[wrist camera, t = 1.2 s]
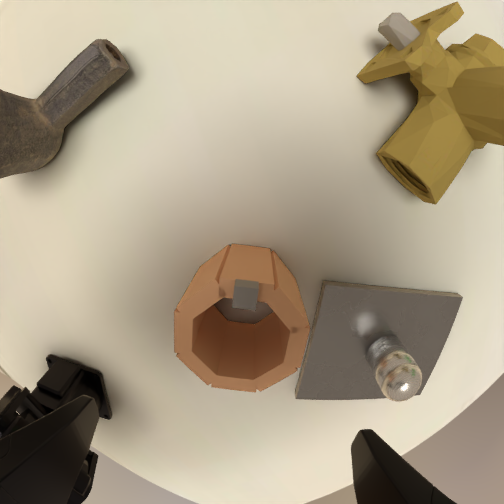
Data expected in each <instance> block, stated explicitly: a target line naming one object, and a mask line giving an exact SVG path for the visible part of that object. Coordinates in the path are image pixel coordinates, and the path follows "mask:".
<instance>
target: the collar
mask: <svg viewBox="0 0 504 504" xmlns="http://www.w3.org/2000/svg"><path fill="white" fill-rule="evenodd" d="M223 297H225V298H233V303H232V308H239V309H247V310H255V311H256V305H257V302H266V303H267V304H268V305H269V306H270V308H271V309H272V310H273V311H274V312H273V313H271V314H270V315H268V316H267V317H265V318H264V319H262V320H261V321H259V322H258V323H256V324H250V323H241V322H233V321H228V320H227V319H226V318H225V317H224V316H223V315H222V314H221V313H220V312H219V311H218V309H217V308H216V307H215V306H214V305H213V304H215V303H216V302H218V301H219V300H220V299H222V298H223ZM309 331H310V326H309V321H308V318H307V315H306V311H305V308H304V305H303V302H302V298H301V295H300V292H299V289H298V285H297V282H296V279H295V277H294V276H293V275H292V274H291V272H290V271H289V270H288V268H287V267H286V266H285V265H284V263H283V262H282V261H281V259H280V258H279V257H278V256H277V254H276V253H275V252H274V251H271V252H270V248H263V247H255V246H247V245H239V244H232V245H231V247H230V246H229V245H227V246H226V247H225V248H223V249H222V250H221V251H220V252H218V253H217V254H216V255H214V256H213V257H212V258H211V259H209V260H208V261H207V262H205V263H204V264H203V265H202V266H200V268H199V269H198V271H197V273H196V274H195V276H194V278H193V280H192V281H191V283H190V285H189V286H188V288H187V290H186V292H185V293H184V295H183V297H182V299H181V300H180V302H179V304H178V306H177V307H176V310H175V311H174V352H175V353H177V355H176V356H177V357H178V358H179V359H180V360H181V361H182V362H183V363H184V364H185V365H186V366H187V367H188V368H189V369H190V370H191V371H193V372H194V373H195V374H196V375H197V376H198V377H199V378H200V379H201V380H202V381H203V382H205V383H206V384H207V385H209V384H211V383H212V386H211V387H215V388H223V389H230V390H239V391H248V392H256V389H258V390H259V391H262V390H264V389H266V388H268V387H270V386H271V385H273V384H275V383H277V382H279V381H280V380H282V379H284V378H286V377H288V376H289V375H291V374H293V373H295V372H296V371H298V370H297V368H300V366H301V363H302V359H303V355H304V351H305V347H306V343H307V339H308V335H309Z"/></svg>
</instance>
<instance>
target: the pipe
mask: <svg viewBox="0 0 504 504" xmlns="http://www.w3.org/2000/svg"><path fill="white" fill-rule="evenodd" d="M128 68H129V66H128V65H127V63H126V60H125V59H124V57H123V55H122V54H121V52H120V51H119V50H118V48H117V47H116V46H114V45H113V44H112V43H111V42H110V41H108V40H107V39H97V40H95V41H94V42H93V43H91V44H90V45H89V46H88V47H87V48H86V49H84V50H83V51H82V52H81V53H80V54H79V55H78V56H77V57H76V58H75V59H74V60H73V61H71V62H70V64H69V65H68V66H67V67H66V68H65V69H64V70H63V71H62V72H61V73H60V74H59V75H58V76H57V77H56V79H55V80H54V81H53V82H52V83H51V84H50V85H49V86H48V87H47V89H46V90H45V91H44V92H43V93H42V94H41V95H40V96H39V97H38V98H37V99H29V98H25V97H21V96H18V95H15V94H11V93H8V92H5V91H3V90H1V89H0V178H4V177H7V176H10V175H14V174H20V173H26V172H31V171H35V170H38V169H40V168H41V167H43V166H45V165H46V164H47V163H48V162H49V161H50V160H51V159H52V158H53V157H54V156H55V155H56V154H57V152H58V150H59V149H60V146H61V142H62V136H63V132H64V128H65V127H66V126H67V125H68V124H69V123H70V122H71V121H72V120H73V119H74V118H76V117H77V116H78V115H79V114H80V113H81V112H82V111H83V110H85V109H86V108H87V107H88V106H89V105H90V104H91V103H92V102H93V101H94V100H96V99H97V98H98V97H99V96H100V95H101V94H102V93H103V92H104V91H105V90H106V89H108V88H109V87H110V86H111V85H112V84H114V83H115V82H116V81H117V80H118V79H120V78H121V77H122V76H123V75H124V74H125V73H126V72H127V71H128Z"/></svg>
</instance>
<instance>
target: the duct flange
mask: <svg viewBox="0 0 504 504" xmlns="http://www.w3.org/2000/svg"><path fill="white" fill-rule="evenodd" d="M462 298H463V297H462V296H461V295H459V294H458V293H448V292H436V291H425V290H414V289H403V288H393V287H383V286H373V285H363V284H353V283H344V282H335V281H325V280H323V284H322V288H321V293H320V297H319V302H318V306H317V311H316V315H315V319H314V323H313V327H312V331H311V335H310V339H309V343H308V347H307V351H306V355H305V358H304V362H303V366H302V369H301V373H300V377H299V380H298V384H297V387H296V390H295V396H296V399H312V400H354V399H378V398H388V399H390V400H392V401H398V402H400V401H405V400H408V399H410V398H411V397H413V396H415V395H420V394H421V392H422V390H423V388H424V386H425V384H426V383H427V381H428V379H429V377H430V375H431V373H432V371H433V369H434V367H435V365H436V362H437V360H438V358H439V356H440V354H441V352H442V349H443V347H444V345H445V342H446V340H447V338H448V335H449V333H450V331H451V328H452V325H453V323H454V320H455V318H456V315H457V312H458V310H459V307H460V304H461V301H462Z"/></svg>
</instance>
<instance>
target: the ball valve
mask: <svg viewBox="0 0 504 504" xmlns="http://www.w3.org/2000/svg"><path fill="white" fill-rule="evenodd" d="M463 14H464V12H463V10H462V8H461V7H460V5H459V3H458V2H455V3H452V4H450V5H447V6H445V7H442V8H440V9H437V10H435V11H432V12H430V13H428V14H426V15H423V16H421V17H419V18H417V19H414V20H412V21H408V20H407V19H406V18H405V17H404V16H403V15H402V14H401V13H392V14H391V15H390V16H388V17H387V18H386V19H385V20H384V21H383V22H382V23H380V24H379V28H378V31H379V32H380V33H381V34H382V35H383V36H384V37H385V38H386V39H387V40H388V41H389V42H390V43H389V44H388V45H387V46H386V47H385V48H384V49H383V50H382V51H381V52H380V53H378V54H377V55H376V56H375V57H374V58H373V59H372V60H371V61H369V62H368V63H367V64H366V66H365V67H364V68H363V69H362V70H361V71H360V73H359V74H358V75H357V77H358V78H359V79H360V80H362V81H363V82H364V83H369V82H372V81H376V80H380V79H383V78H387V77H391V76H395V75H399V74H403V73H407V72H409V73H410V74H411V75H410V81H411V82H412V83H413V84H414V86H415V87H416V88H417V89H418V101H417V102H418V103H417V105H416V106H415V108H414V109H413V111H412V112H411V113H410V115H409V116H408V118H407V119H406V121H405V122H404V123H403V124H402V125H401V126H400V127H399V128H398V130H397V131H396V132H395V133H394V134H393V135H392V136H391V138H390V139H389V140H388V141H387V142H386V143H385V144H384V145H383V146H382V148H381V149H380V150H379V151H378V152H377V153H376V154H377V155H378V157H379V158H380V160H381V161H382V163H383V165H384V166H385V168H386V169H387V170H388V171H389V172H390V173H391V174H392V175H393V176H394V177H395V178H396V179H397V180H398V181H399V182H400V183H401V184H402V185H403V186H404V187H405V188H407V189H408V190H409V191H411V192H412V193H413V194H415V195H416V196H417V197H418V198H420V199H421V200H422V201H424V202H427V203H432V204H437V202H438V201H439V200H440V198H441V197H442V195H443V194H444V193H445V191H446V190H447V188H448V187H449V186H450V184H451V183H452V181H453V180H454V178H455V177H456V175H457V174H458V172H459V171H460V169H461V168H462V166H463V165H464V163H465V161H466V159H467V158H468V156H469V154H470V152H471V151H472V150H474V149H481V148H483V147H484V146H485V145H486V144H487V143H492V144H497V145H502V146H504V49H503V48H502V47H501V46H500V45H499V44H497V43H496V42H495V41H494V40H492V39H490V38H488V37H485V36H482V35H479V34H475V35H473V36H472V37H471V38H470V39H468V40H467V41H466V42H464V43H463V44H452V45H450V46H449V47H448V48H447V49H446V50H444V49H443V47H442V46H441V45H440V43H439V42H438V41H437V38H438V36H439V35H440V33H442V32H443V31H444V30H446V29H447V28H448V27H450V26H451V25H452V24H454V23H455V22H457V21H458V20H459V19H460V17H461V16H462V15H463Z"/></svg>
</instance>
